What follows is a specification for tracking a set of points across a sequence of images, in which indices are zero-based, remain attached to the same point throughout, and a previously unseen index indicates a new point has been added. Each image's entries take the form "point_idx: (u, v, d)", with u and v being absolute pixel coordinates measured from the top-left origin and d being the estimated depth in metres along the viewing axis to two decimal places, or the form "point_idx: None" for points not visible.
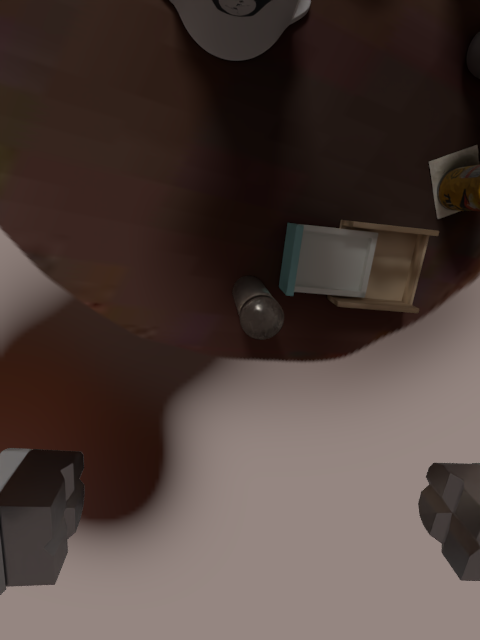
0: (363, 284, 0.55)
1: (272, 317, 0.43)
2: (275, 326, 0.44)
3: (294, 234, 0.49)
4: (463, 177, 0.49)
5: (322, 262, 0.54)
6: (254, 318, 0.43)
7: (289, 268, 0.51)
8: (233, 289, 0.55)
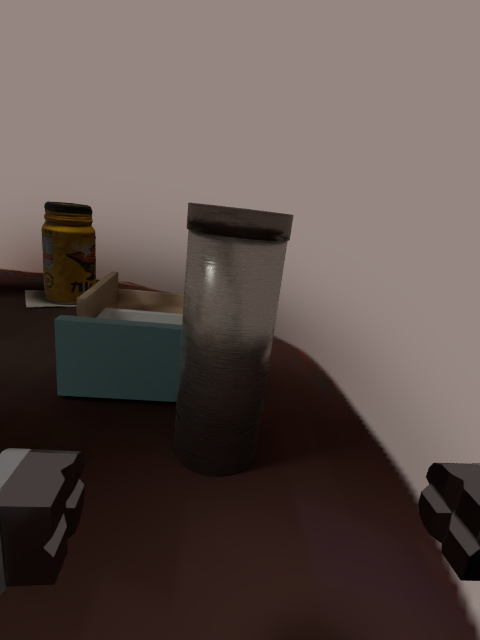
0: (182, 315, 0.37)
1: None
2: None
3: (75, 327, 0.24)
4: (52, 263, 0.44)
5: None
6: (244, 209, 0.17)
7: (147, 333, 0.25)
8: (210, 457, 0.20)
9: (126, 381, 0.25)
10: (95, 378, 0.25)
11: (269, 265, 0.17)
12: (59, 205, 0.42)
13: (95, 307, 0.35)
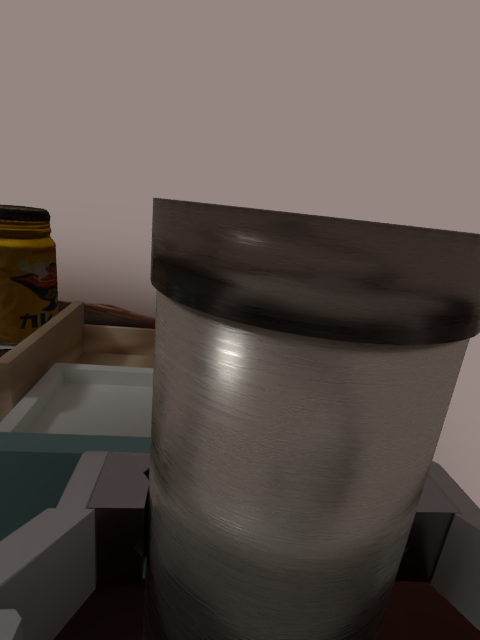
0: None
1: (287, 212, 0.07)
2: None
3: None
4: None
5: None
6: None
7: None
8: None
9: None
10: None
11: (437, 415, 0.05)
12: None
13: (36, 366, 0.23)
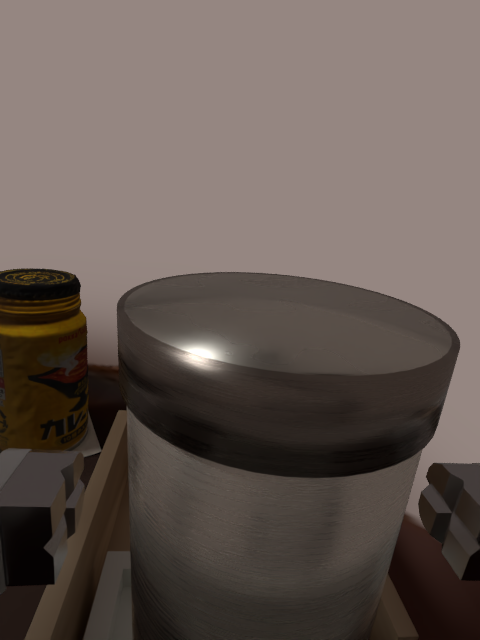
0: None
1: (257, 287, 0.07)
2: (304, 284, 0.08)
3: None
4: (4, 392, 0.23)
5: None
6: (297, 322, 0.05)
7: None
8: None
9: None
10: None
11: (393, 515, 0.05)
12: (13, 286, 0.21)
13: (82, 583, 0.14)
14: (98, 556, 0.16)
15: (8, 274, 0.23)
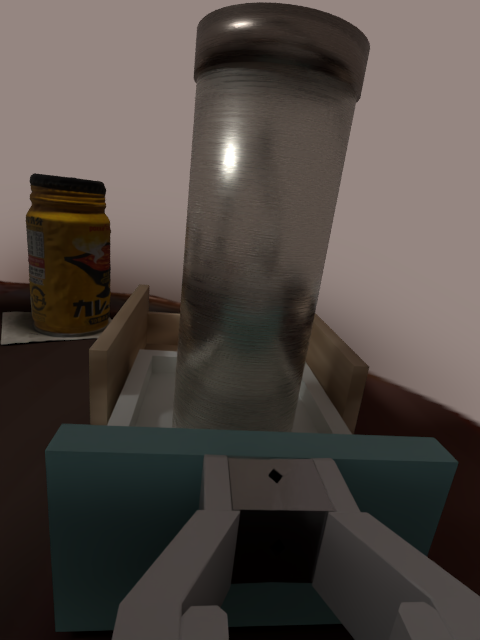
0: None
1: None
2: None
3: (107, 469, 0.08)
4: (44, 271, 0.27)
5: None
6: None
7: None
8: None
9: (238, 589, 0.10)
10: None
11: (332, 127, 0.10)
12: (54, 177, 0.26)
13: (122, 357, 0.18)
14: (130, 363, 0.21)
15: None
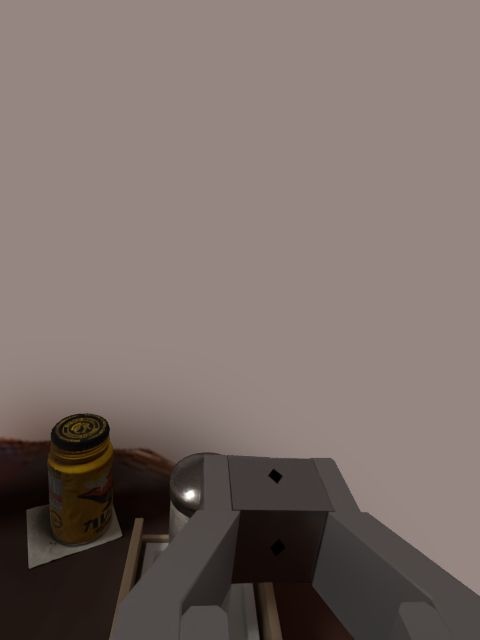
0: None
1: None
2: None
3: None
4: (61, 504, 0.35)
5: None
6: None
7: None
8: None
9: None
10: None
11: None
12: (70, 443, 0.34)
13: None
14: None
15: (63, 426, 0.36)
